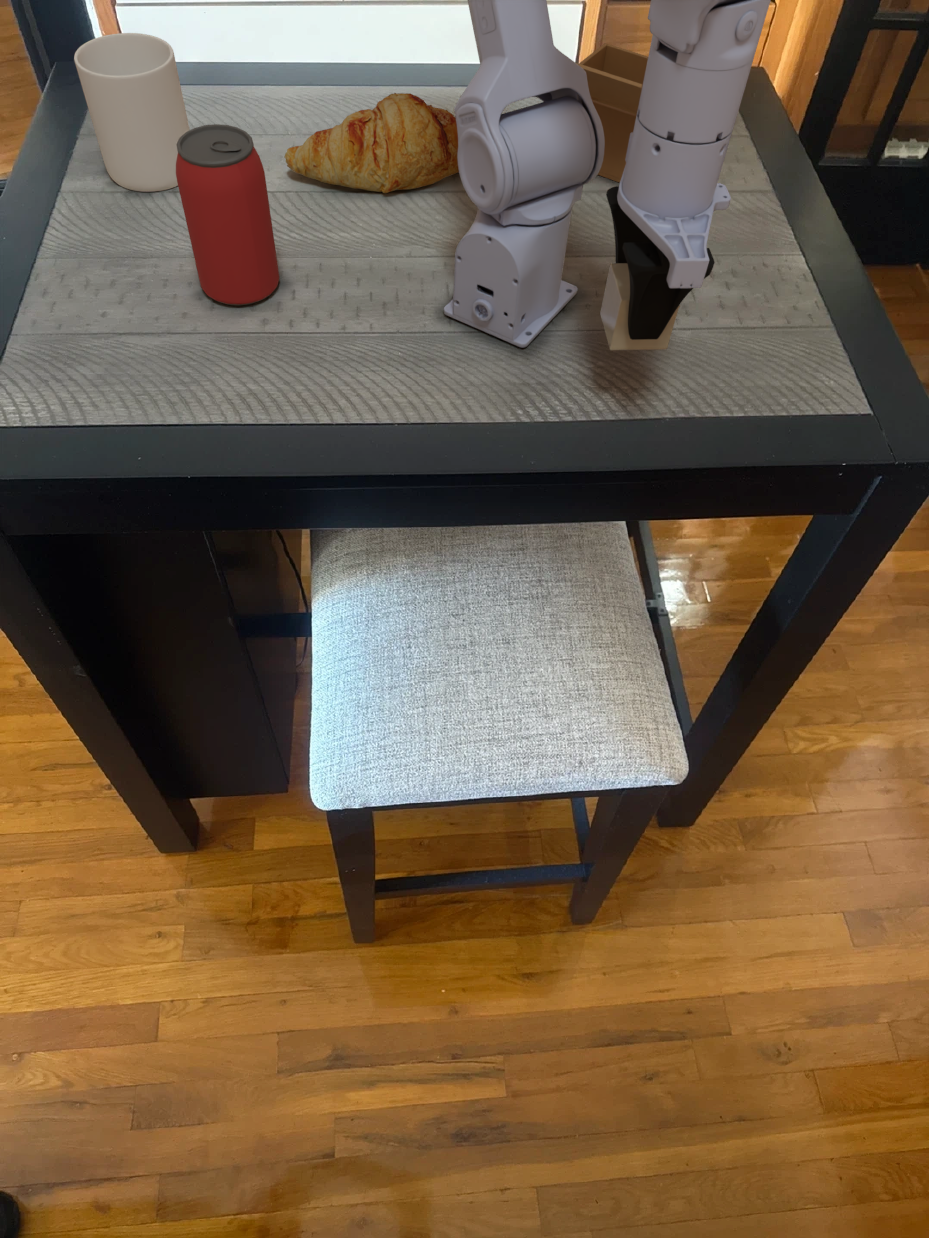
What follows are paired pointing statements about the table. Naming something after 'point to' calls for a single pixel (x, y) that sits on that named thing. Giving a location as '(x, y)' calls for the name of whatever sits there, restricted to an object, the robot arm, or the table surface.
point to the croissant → (382, 147)
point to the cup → (134, 107)
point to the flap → (613, 88)
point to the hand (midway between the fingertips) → (637, 315)
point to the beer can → (227, 213)
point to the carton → (612, 116)
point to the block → (625, 314)
